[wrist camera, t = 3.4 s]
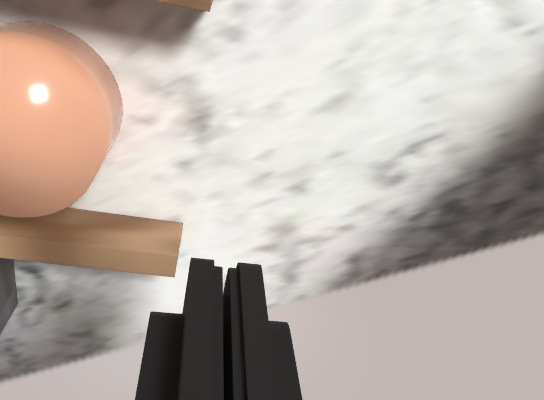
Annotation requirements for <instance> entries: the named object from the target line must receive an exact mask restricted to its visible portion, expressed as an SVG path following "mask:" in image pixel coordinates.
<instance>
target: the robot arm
mask: <svg viewBox="0 0 544 400" xmlns="http://www.w3.org/2000/svg"><path fill="white" fill-rule="evenodd" d="M135 400H302V395H301V390H300V384H299V378H298V373H297V367H296V361H295V356H294V350H293V344H292V339H291V333H290V328H289V325H288V323H287V322H278V321H268V314H267V306H266V298H265V290H264V282H263V274H262V267H261V265H258V264H248V263H238V264H237V267H236V268H229V269H228V272H227V277H226V282H225V287H224V292H223V278H222V267H217V266H214V260H209V259H199V258H191V261H190V267H189V274H188V280H187V287H186V293H185V300H184V307H183V313H182V314H175V313H162V312H151V313H150V318H149V323H148V329H147V335H146V340H145V346H144V352H143V358H142V363H141V369H140V374H139V380H138V386H137V391H136V397H135Z"/></svg>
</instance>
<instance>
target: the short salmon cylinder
mask: <svg viewBox="0 0 544 400" xmlns="http://www.w3.org/2000/svg"><path fill="white" fill-rule="evenodd" d="M122 115H123V109H122V99H121V94H120V91H119V87H118V84H117V82H116V80H115V78H114V76H113V74H112V72H111V71H110V69H109V67H108V66H107V64H106V63H105V62H104V61H103V59H102V58H101V57H100V56H99V55H98V54H97V53H96V52H95V51H94V50H93V49H92V48H91V47H90V46H89V45H88V44H86V43H85V42H84V41H82V40H81V39H79V38H78V37H76V36H75V35H73V34H71V33H69V32H67V31H65V30H63V29H61V28H58V27H56V26H53V25H49V24H45V23H41V22H34V21H16V22H9V23H5V24H2V25H0V215H3V216H9V217H20V218H24V217H38V216H45V215H48V214H52V213H55V212H58V211H60V210H63V209H65V208H66V207H68V206H70V205H72V204H73V203H74V202H75V201H77V200H78V199H79V198H80V197H81V196H82V195H83V194H84V193H85V192H86V190H87V189H88V187H89V186H90V184H91V182H92V181H93V179H94V177H95V175H96V173H97V171H98V170H99V168H100V166H101V164H102V162H103V161H104V159H105V157H106V155H107V153H108V151H109V150H110V148H111V146H112V144H113V142H114V141H115V139H116V137H117V134H118V132H119V130H120V126H121V123H122Z"/></svg>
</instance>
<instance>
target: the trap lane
mask: <svg viewBox="0 0 544 400" xmlns="http://www.w3.org/2000/svg"><path fill="white" fill-rule="evenodd" d="M156 1H161V2H165V3H170V4H175V5H180V6H184V7H189V8H194V9H199V10H203V11H208V12H210V9H211V5H212V1H213V0H156ZM182 226H183V223H178V222H171V221H163V220H156V219H148V218H141V217H133V216H125V215H118V214H110V213H103V212H95V211H88V210H80V209H72V208H65V209H63V210H60V211H58V212H55V213H52V214H48V215H45V216H38V217H24V218H20V217H9V216H3V215H0V334H1V332H2V330H3V328H4V327H5V325H6V323H7V321H8V320H9V318H10V316H11V314H12V313H13V311H14V309H15V307H16V306H17V304H18V302H17V292H16V283H15V273H14V263H13V259H16V260H25V261H34V262H43V263H51V264H60V265H69V266H78V267H87V268H96V269H105V270H114V271H123V272H132V273H141V274H150V275H159V276H168V277H175V271H176V265H177V259H178V253H179V248H180V241H181V234H182Z"/></svg>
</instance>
